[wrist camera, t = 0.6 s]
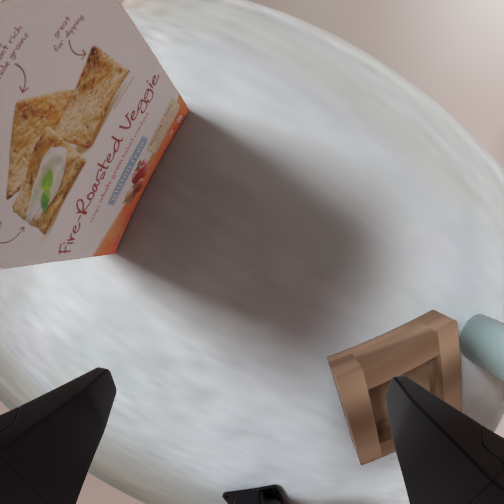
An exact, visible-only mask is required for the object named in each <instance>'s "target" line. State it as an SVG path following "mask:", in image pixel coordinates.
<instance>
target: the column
mask: <svg viewBox="0 0 504 504" xmlns="http://www.w3.org/2000/svg"><path fill="white" fill-rule="evenodd" d="M459 345H460V351H461V353H462V354H463V355H464V356H466V357H467V358H469V359H470V360H472V361H473V362H475V363H476V364H478V365H479V366H481V367H482V368H484V369H485V370H487V371H488V372H490V373H491V374H493V375H494V376H496V377H497V378H499V379H500V380H502V381H503V382H504V323H502V322H500V321H497V320H495V319H492V318H490V317H487V316H485V315H482V314H478V315H475V316H473V317H472V318H471V319H470V320H469V321H468V322H467V323H466V325H465V326H464V328H463V330H462V332H461V335H460V340H459Z"/></svg>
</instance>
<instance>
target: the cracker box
mask: <svg viewBox="0 0 504 504" xmlns="http://www.w3.org/2000/svg"><path fill="white" fill-rule="evenodd" d="M188 112H189V109H188V107H187V106H186V104H185V102H184V101H183V99H182V97H181V96H180V94H179V92H178V91H177V90H176V88H175V86H174V85H173V83H172V82H171V80H170V79H169V77H168V75H167V74H166V72H165V71H164V69H163V68H162V66H161V64H160V63H159V61H158V60H157V58H156V57H155V55H154V54H153V52H152V50H151V49H150V47H149V46H148V44H147V43H146V41H145V40H144V38H143V37H142V35H141V34H140V32H139V30H138V29H137V27H136V26H135V24H134V22H133V21H132V20H131V18H130V17H129V15H128V14H127V12H126V11H125V9H124V8H123V6H122V5H121V3H120V2H119V0H0V269H7V268H13V267H20V266H27V265H35V264H42V263H48V262H55V261H64V260H72V259H80V258H87V257H93V256H101V255H108V254H115V253H116V250H117V247H118V245H119V242H120V240H121V238H122V236H123V233H124V231H125V229H126V227H127V225H128V222H129V220H130V218H131V216H132V213H133V211H134V209H135V207H136V205H137V203H138V201H139V199H140V197H141V195H142V193H143V191H144V189H145V187H146V185H147V183H148V181H149V179H150V177H151V176H152V174H153V172H154V170H155V168H156V166H157V164H158V163H159V161H160V159H161V157H162V155H163V154H164V152H165V150H166V148H167V147H168V145H169V143H170V141H171V140H172V138H173V136H174V135H175V133H176V131H177V130H178V128H179V126H180V125H181V123H182V122H183V120H184V118H185V117H186V115H187V114H188Z"/></svg>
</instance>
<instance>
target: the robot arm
mask: <svg viewBox="0 0 504 504" xmlns="http://www.w3.org/2000/svg"><path fill="white" fill-rule="evenodd" d="M115 395H116V386H115V384H114V381H113V378H112V375H111V373H110V371H109V370H108V369H105V368H96V369H94V370H92V371H90V372H88V373H86V374H84V375H82V376H80V377H78V378H76V379H74V380H72V381H70V382H68V383H66V384H64V385H62V386H60V387H58V388H56V389H54V390H52V391H50V392H48V393H46V394H44V395H42V396H40V397H38V398H36V399H34V400H32V401H30V402H28V403H26V404H23V405H21V406H20V407H17V408H15V409H13V410H11V411H9V412H6V413H4V414H2V415H0V504H76V502H77V499H78V496H79V493H80V491H81V488H82V485H83V482H84V480H85V477H86V475H87V472H88V470H89V467H90V465H91V462H92V460H93V457H94V455H95V452H96V450H97V447H98V445H99V442H100V440H101V438H102V435H103V433H104V430H105V427H106V424H107V421H108V418H109V414H110V411H111V408H112V405H113V401H114V398H115ZM385 400H386V406H387V411H388V417H389V422H390V428H391V433H392V438H393V442H394V446H395V450H396V453H397V456H398V460H399V463H400V467H401V471H402V474H403V478H404V482H405V485H406V489H407V493H408V497H409V501H410V504H504V438H502V437H500V436H499V435H497V434H495V433H494V432H492V431H490V430H489V429H487V428H486V427H484V426H481V424H479V423H478V422H476V421H474V420H473V419H471V418H470V417H468V416H467V415H465V414H464V413H462V412H460V411H459V410H457V409H456V408H454V407H453V406H451V405H450V404H448V403H447V402H445V401H443V400H442V399H440V398H439V397H437V396H436V395H434V394H433V393H431V392H430V391H428V390H427V389H425V388H424V387H422V386H421V385H419V384H417V383H416V382H414V381H413V380H411V379H410V378H408V377H407V376H405V375H401V376H395V377H393V378H392V379H391V382H390V385H389V388H388V391H387V393H386V399H385ZM223 498H224V499H225V500H226V502H227V503H228V504H288V502H287V501H286V499H285V497H284V496H283V494H282V492H281V491H280V489H279V487H278V486H276V485H272V486H266V487H261V488H255V489H248V490H241V491H234V492H225V493H223Z"/></svg>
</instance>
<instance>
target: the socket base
mask: <svg viewBox="0 0 504 504" xmlns="http://www.w3.org/2000/svg"><path fill="white" fill-rule="evenodd" d="M327 359H328V363H329V366H330V369H331V372H332V375H333V378H334V382H335V385H336V388H337V391H338V395H339V398H340V401H341V404H342V408H343V411H344V414H345V418H346V421H347V425H348V428H349V431H350V435H351V438H352V442H353V444H354V447H355V450H356V453H357V455H358V458H359V461H360V464H361V465H364V464H366V463H369V462H372V461H374V460H377V459H379V458H381V457H384V456H386V455H388V454H391V453H393V452H395V451H396V450H395V446H394V442H393V438H392V433H391V428H390V422H389V417H388V411H387V406H386V400H385V399H386V393H387V391H388V388H389V385H390V382H391V379H392V378H393V377H395V376H401V375H405V376H407V377H408V378H410V379H411V380H413V381H414V382H416V383H417V384H419V385H421V386H422V387H424V388H425V389H427V390H428V391H430V392H431V393H433V394H434V395H436V396H437V397H439V398H440V399H442V400H443V401H445V402H447V403H448V404H450V405H451V406H453V407H454V408H456V409H457V410H459V411H460V412H461V410H462V381H461V359H460V345H459V335H458V326H457V321H455V320H453V319H451V318H449V317H447V316H445V315H443V314H441V313H439V312H437V311H435V310H431V311H430V312H428V313H426V314H424V315H422V316H420V317H418V318H416V319H414V320H412V321H410V322H408V323H406V324H404V325H402V326H400V327H398V328H395V329H393V330H391V331H389V332H387V333H385V334H382V335H380V336H378V337H376V338H374V339H371V340H369V341H367V342H364V343H362V344H359V345H357V346H355V347H352V348H350V349H347V350H345V351H342V352H340V353H337V354H335V355H332V356H329V357H327Z"/></svg>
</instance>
